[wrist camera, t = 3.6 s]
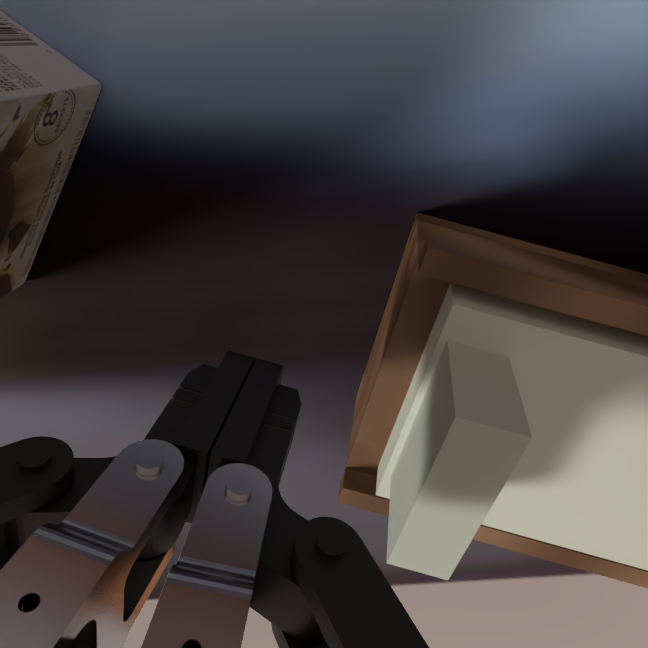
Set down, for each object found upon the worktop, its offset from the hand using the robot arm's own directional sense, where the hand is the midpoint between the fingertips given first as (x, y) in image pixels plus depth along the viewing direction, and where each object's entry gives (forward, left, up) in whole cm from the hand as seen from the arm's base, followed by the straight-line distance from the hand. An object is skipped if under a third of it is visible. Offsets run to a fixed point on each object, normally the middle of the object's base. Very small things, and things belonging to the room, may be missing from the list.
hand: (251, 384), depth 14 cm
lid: (+10, 0, -2) cm, 10 cm away
